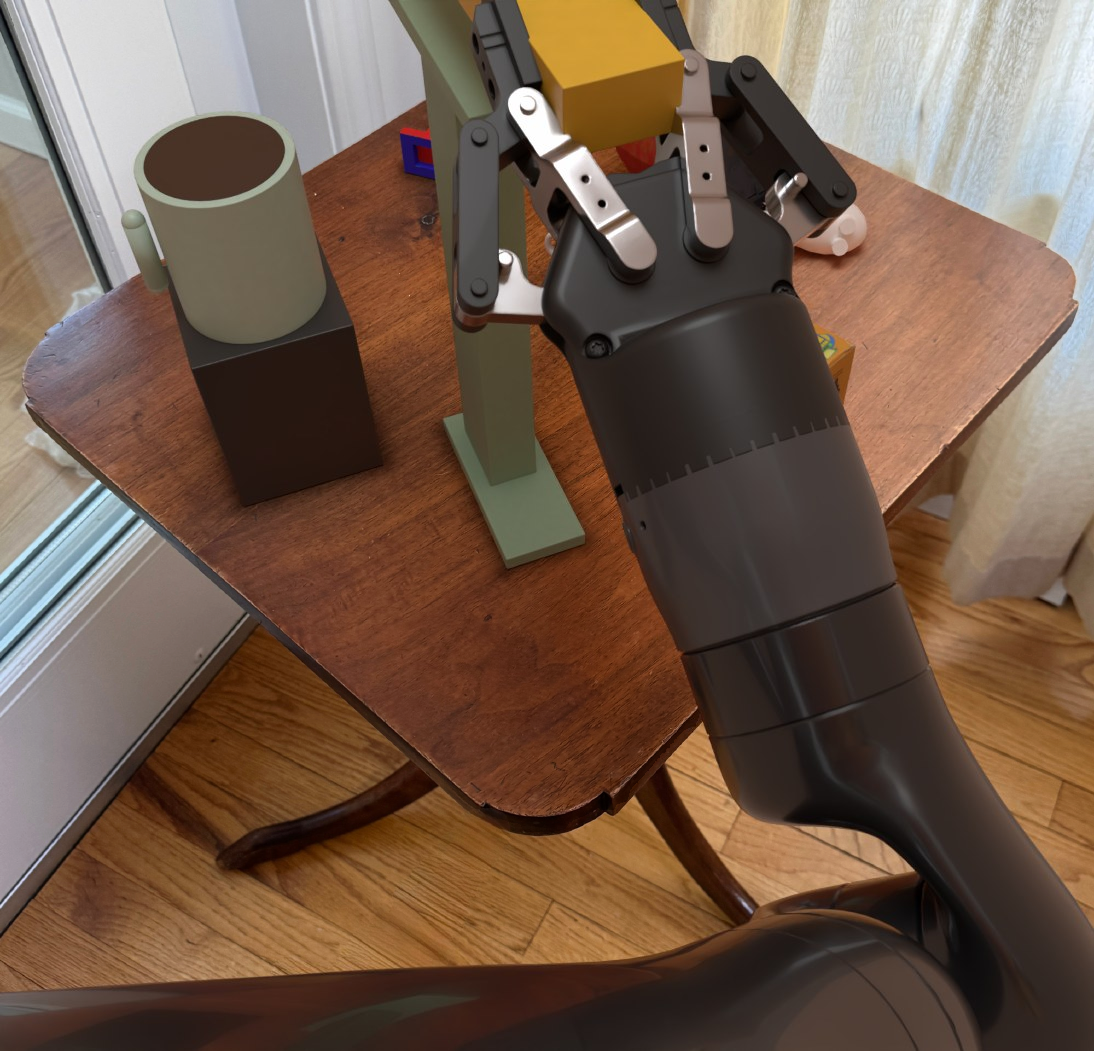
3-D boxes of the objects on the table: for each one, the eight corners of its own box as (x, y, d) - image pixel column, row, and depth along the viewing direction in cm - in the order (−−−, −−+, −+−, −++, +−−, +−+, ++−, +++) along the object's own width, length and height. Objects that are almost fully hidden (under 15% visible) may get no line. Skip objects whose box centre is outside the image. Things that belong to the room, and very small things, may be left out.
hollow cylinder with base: (228, 511, 70) (118, 237, 53) (201, 411, 75) (92, 132, 58) (383, 465, 72) (324, 186, 55) (346, 370, 77) (281, 88, 60)
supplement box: (787, 432, 73) (813, 316, 65) (831, 461, 71) (863, 345, 63) (754, 461, 71) (777, 345, 63) (798, 491, 70) (826, 376, 62)
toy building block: (427, 142, 92) (518, 163, 90) (404, 172, 90) (497, 194, 88) (422, 103, 89) (516, 124, 88) (399, 132, 87) (495, 155, 85)
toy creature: (754, 244, 81) (746, 220, 86) (859, 275, 82) (845, 249, 87) (778, 181, 79) (768, 160, 84) (886, 214, 79) (869, 191, 85)
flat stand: (507, 569, 67) (468, 117, 43) (443, 428, 74) (379, -31, 50) (585, 543, 68) (591, 88, 44) (515, 406, 75) (487, -53, 51)
